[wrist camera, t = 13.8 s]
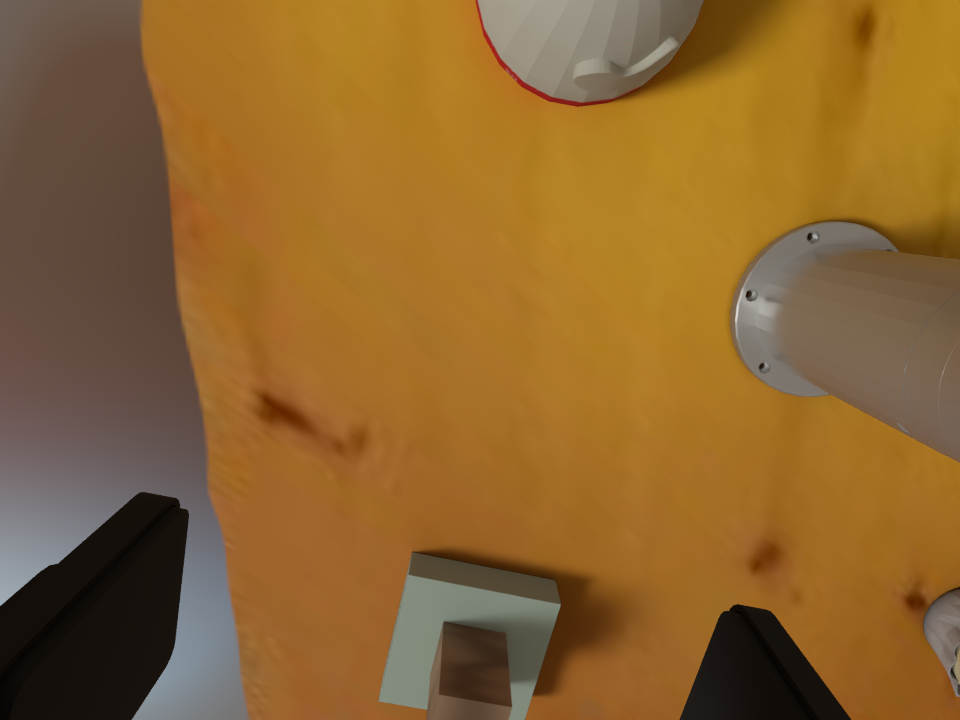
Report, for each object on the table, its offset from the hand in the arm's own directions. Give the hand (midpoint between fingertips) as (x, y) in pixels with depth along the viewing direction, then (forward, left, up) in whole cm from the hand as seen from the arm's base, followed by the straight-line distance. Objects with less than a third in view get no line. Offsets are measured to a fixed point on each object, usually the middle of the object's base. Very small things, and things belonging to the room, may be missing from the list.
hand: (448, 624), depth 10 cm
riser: (-6, +27, -33) cm, 43 cm away
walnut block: (-6, +27, -30) cm, 41 cm away
